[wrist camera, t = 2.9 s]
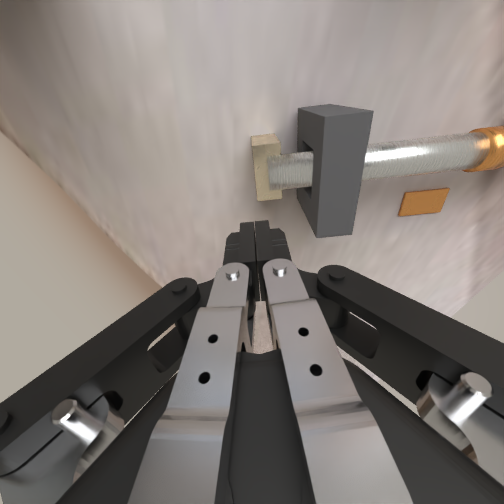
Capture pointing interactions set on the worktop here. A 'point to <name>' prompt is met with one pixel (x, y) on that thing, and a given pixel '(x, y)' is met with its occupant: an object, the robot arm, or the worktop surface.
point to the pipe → (385, 164)
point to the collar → (333, 165)
